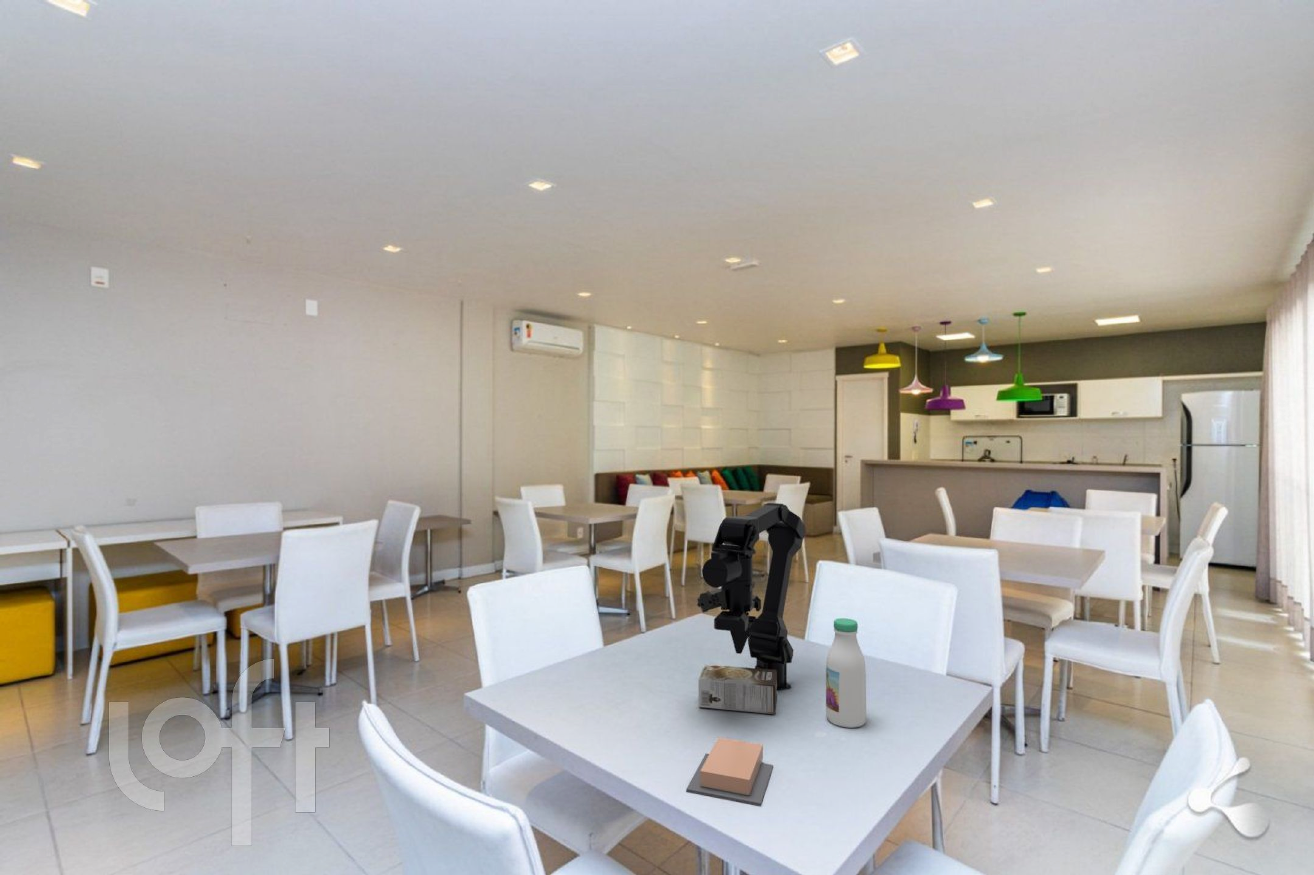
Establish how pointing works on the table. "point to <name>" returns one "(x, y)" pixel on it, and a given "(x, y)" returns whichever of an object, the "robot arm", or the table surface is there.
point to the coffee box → (738, 689)
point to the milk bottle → (845, 677)
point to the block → (732, 766)
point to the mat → (753, 798)
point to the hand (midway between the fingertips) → (738, 653)
